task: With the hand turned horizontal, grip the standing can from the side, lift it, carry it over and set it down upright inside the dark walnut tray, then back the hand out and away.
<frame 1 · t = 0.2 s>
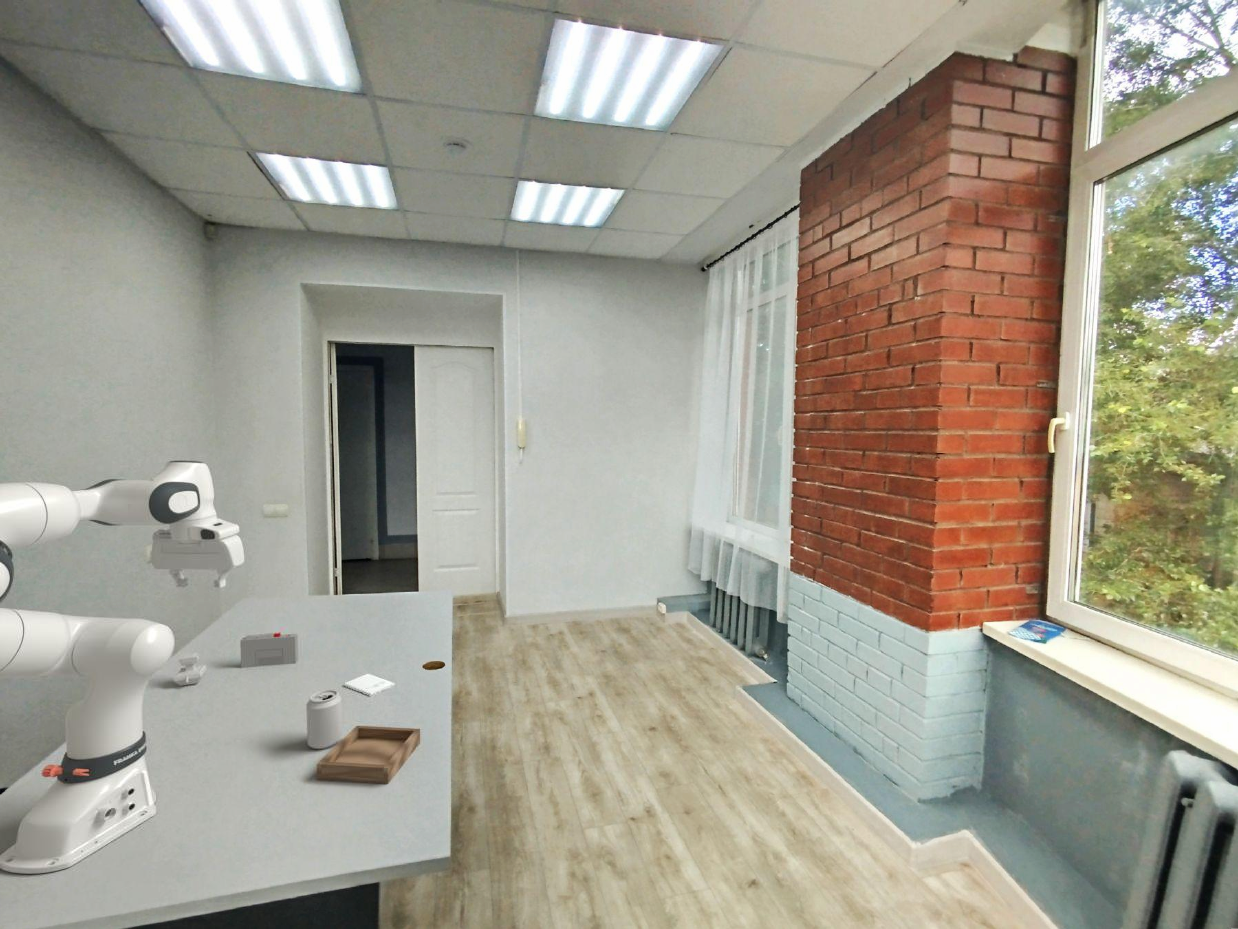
hand: (201, 586, 132), 39 cm above the table, tool pointing down, fingers open, 8 cm apart
can: (325, 743, 137), on the table
external hard drive: (369, 688, 167), on the table
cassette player: (270, 664, 182), on the table
stamp: (190, 683, 168), on the table
tray: (371, 760, 129), on the table
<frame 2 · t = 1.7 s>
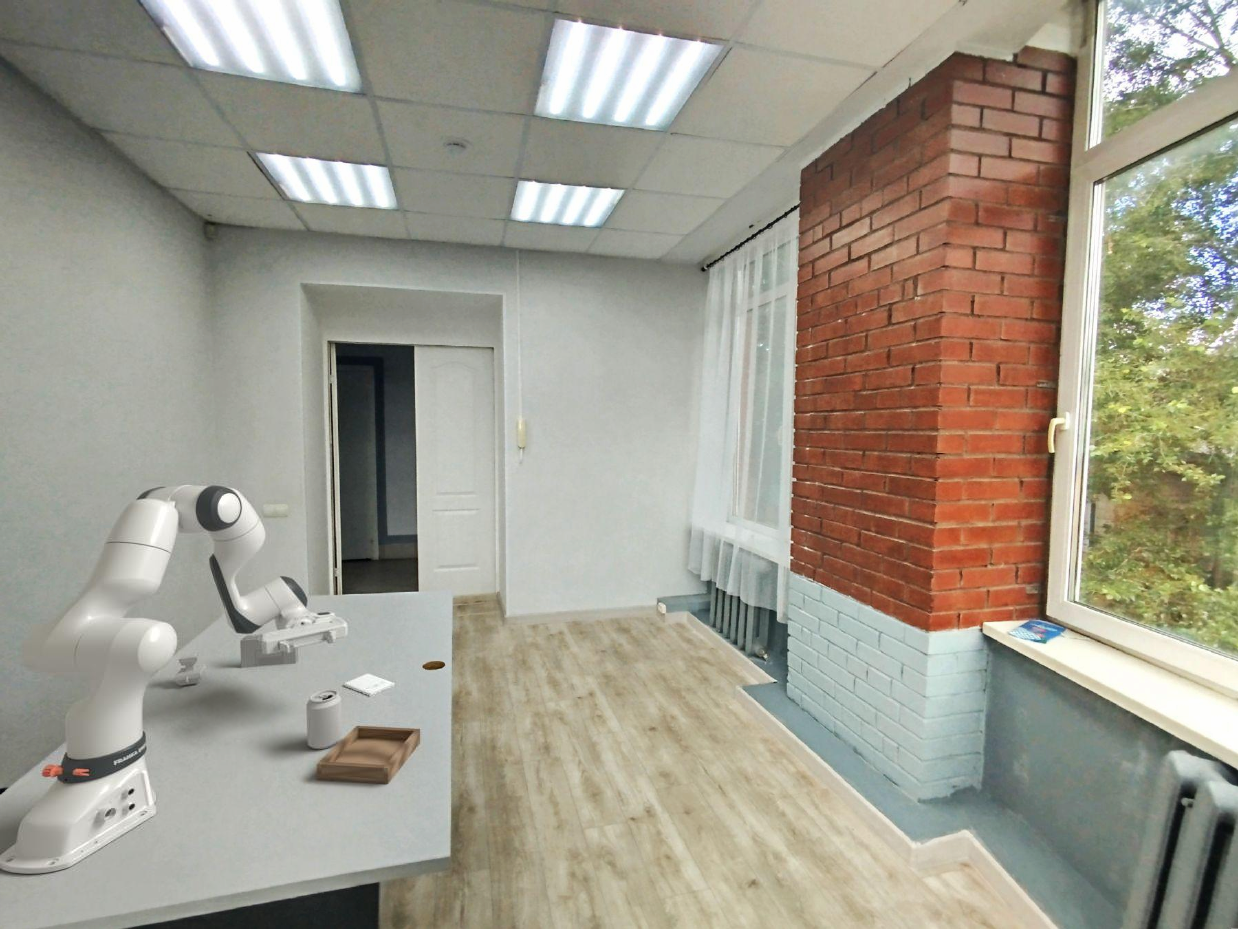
hand: (311, 644, 145), 21 cm above the table, tool horizontal, fingers open, 8 cm apart
nothing on the table moved.
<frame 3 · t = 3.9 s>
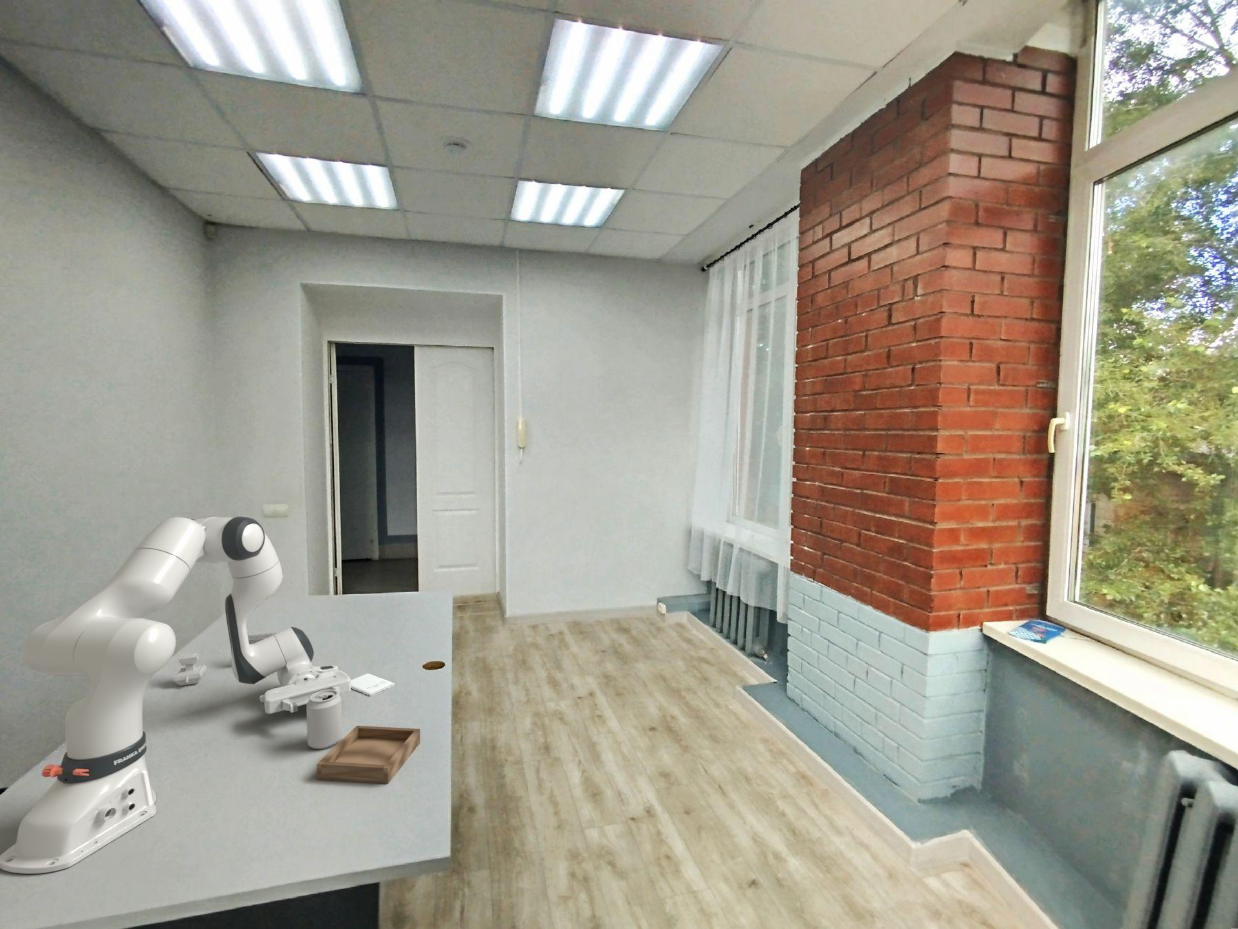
hand: (315, 703, 143), 6 cm above the table, tool horizontal, fingers open, 8 cm apart
nothing on the table moved.
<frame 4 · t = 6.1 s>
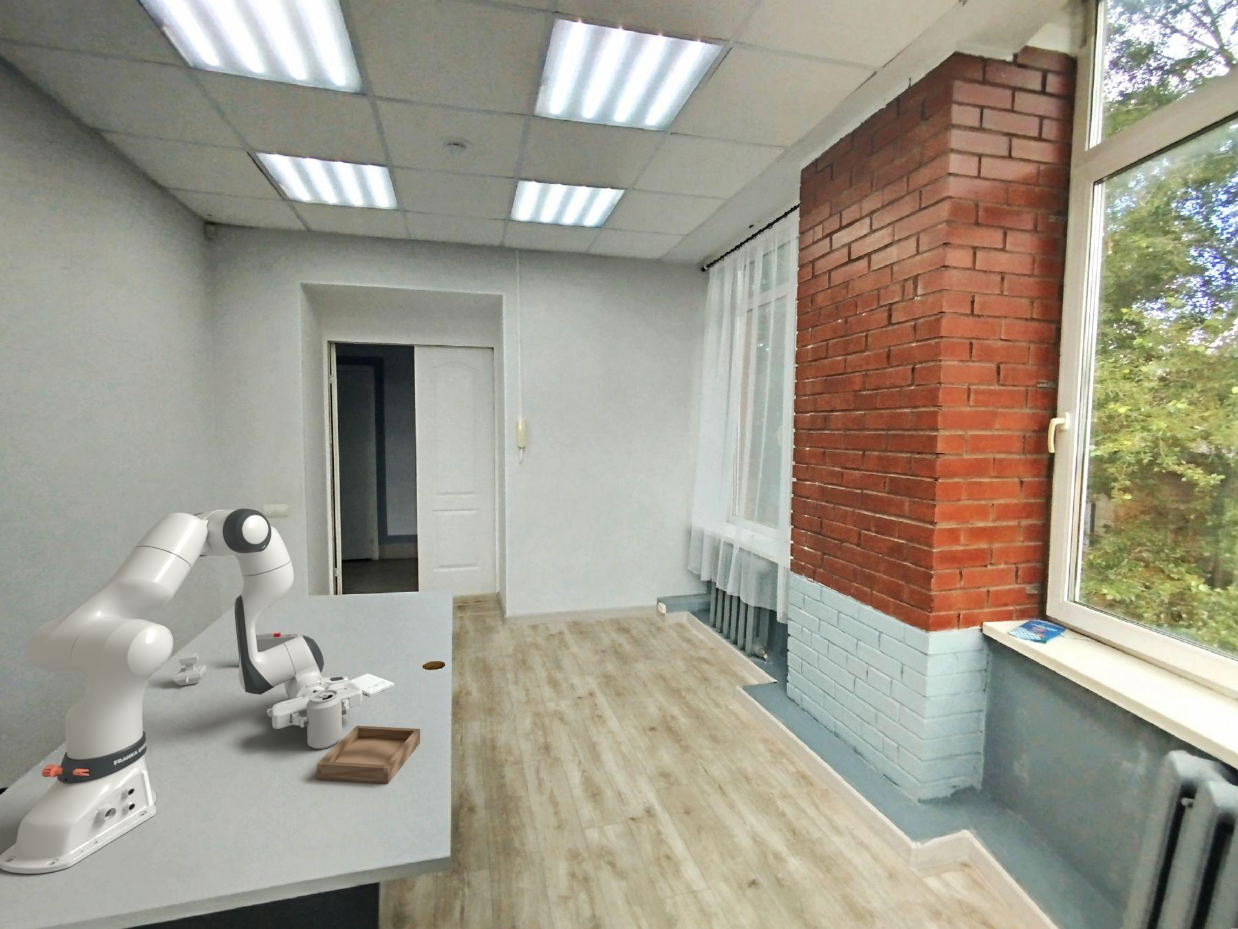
hand: (325, 717, 136), 7 cm above the table, tool horizontal, fingers closed on can, 7 cm apart
can: (325, 743, 137), on the table, touching gripper
everything else where it was.
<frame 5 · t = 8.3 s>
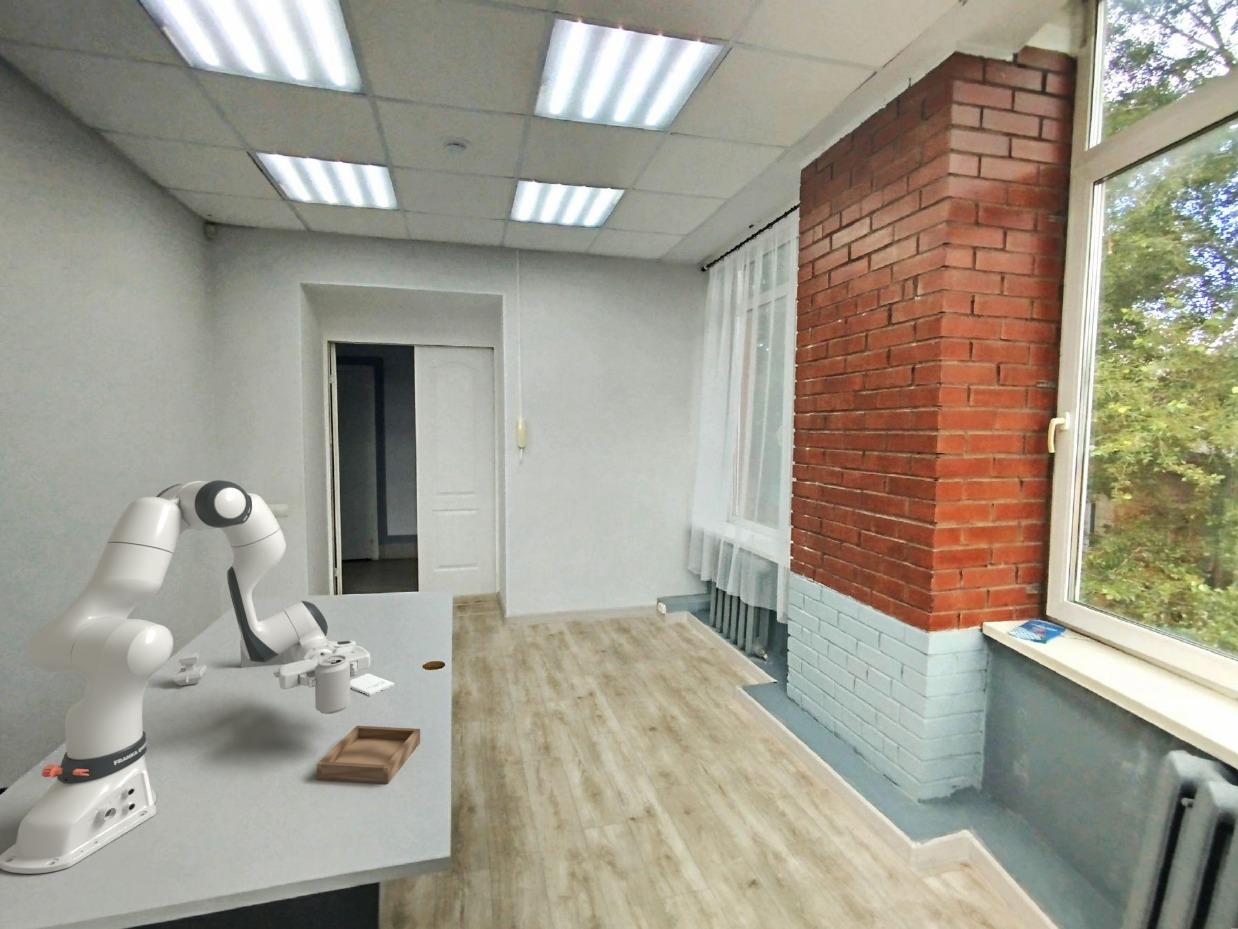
hand: (333, 678, 134), 17 cm above the table, tool horizontal, fingers closed on can, 7 cm apart
can: (333, 708, 135), point 9 cm above the table, touching gripper
everything else where it was.
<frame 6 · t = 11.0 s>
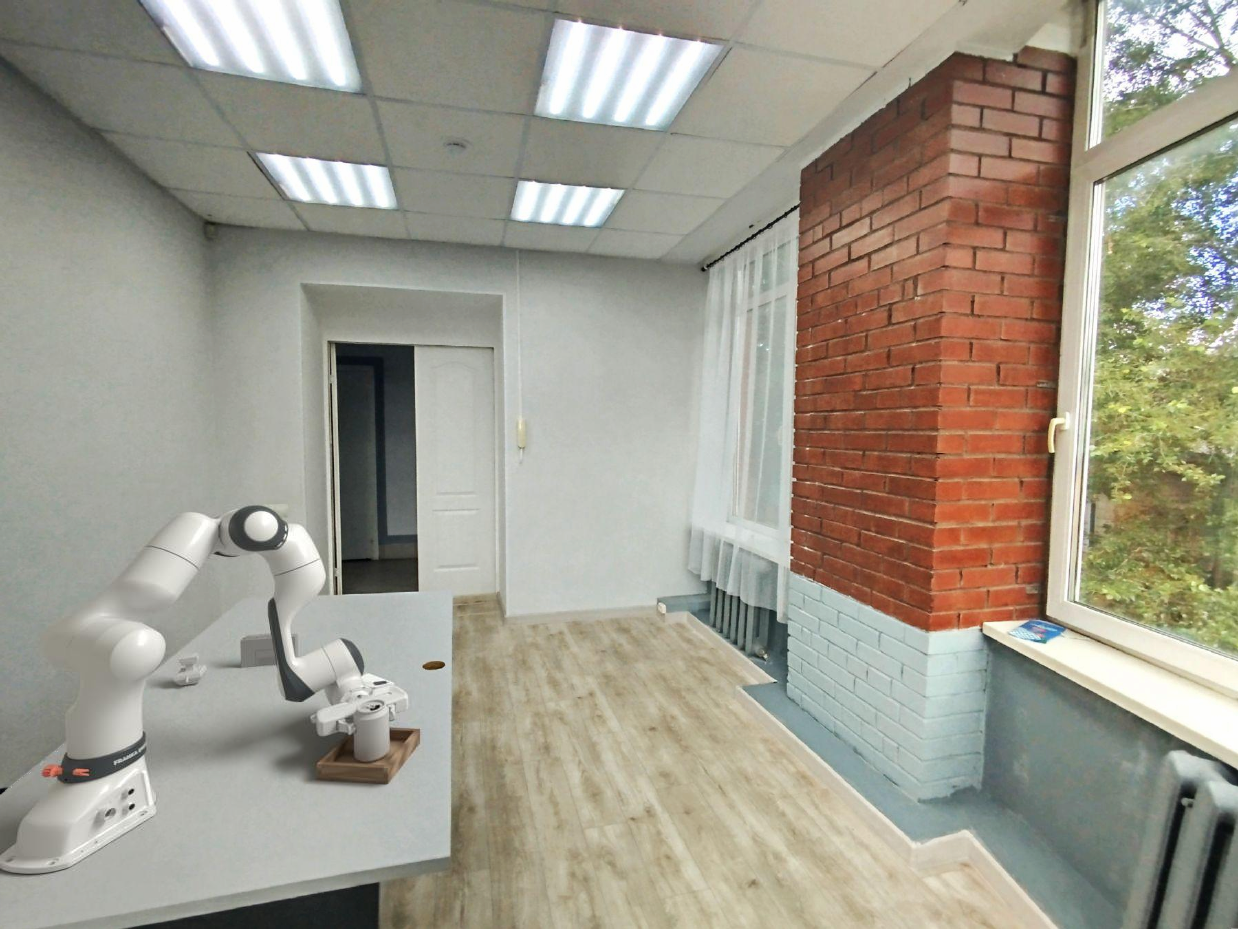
hand: (373, 724, 128), 9 cm above the table, tool horizontal, fingers closed on can, 7 cm apart
can: (372, 756, 130), point 1 cm above the table, touching gripper, tray
everything else where it was.
when the fingers open (9 cm above the table, at t = 11.3 s): can stays where it is, resting on tray.
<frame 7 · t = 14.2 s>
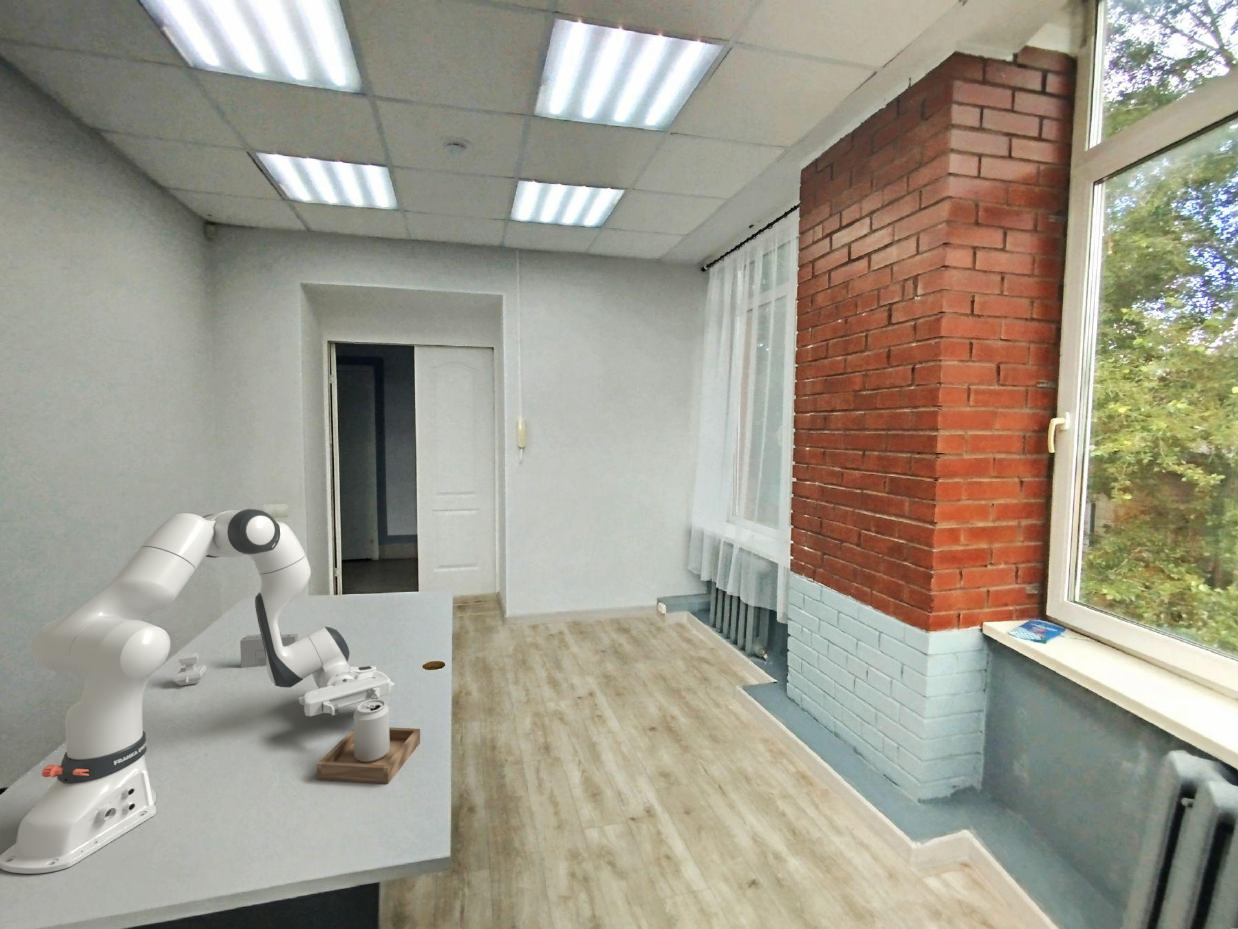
hand: (356, 705, 138), 9 cm above the table, tool horizontal, fingers open, 8 cm apart
can: (372, 756, 130), point 1 cm above the table, touching tray
everything else where it was.
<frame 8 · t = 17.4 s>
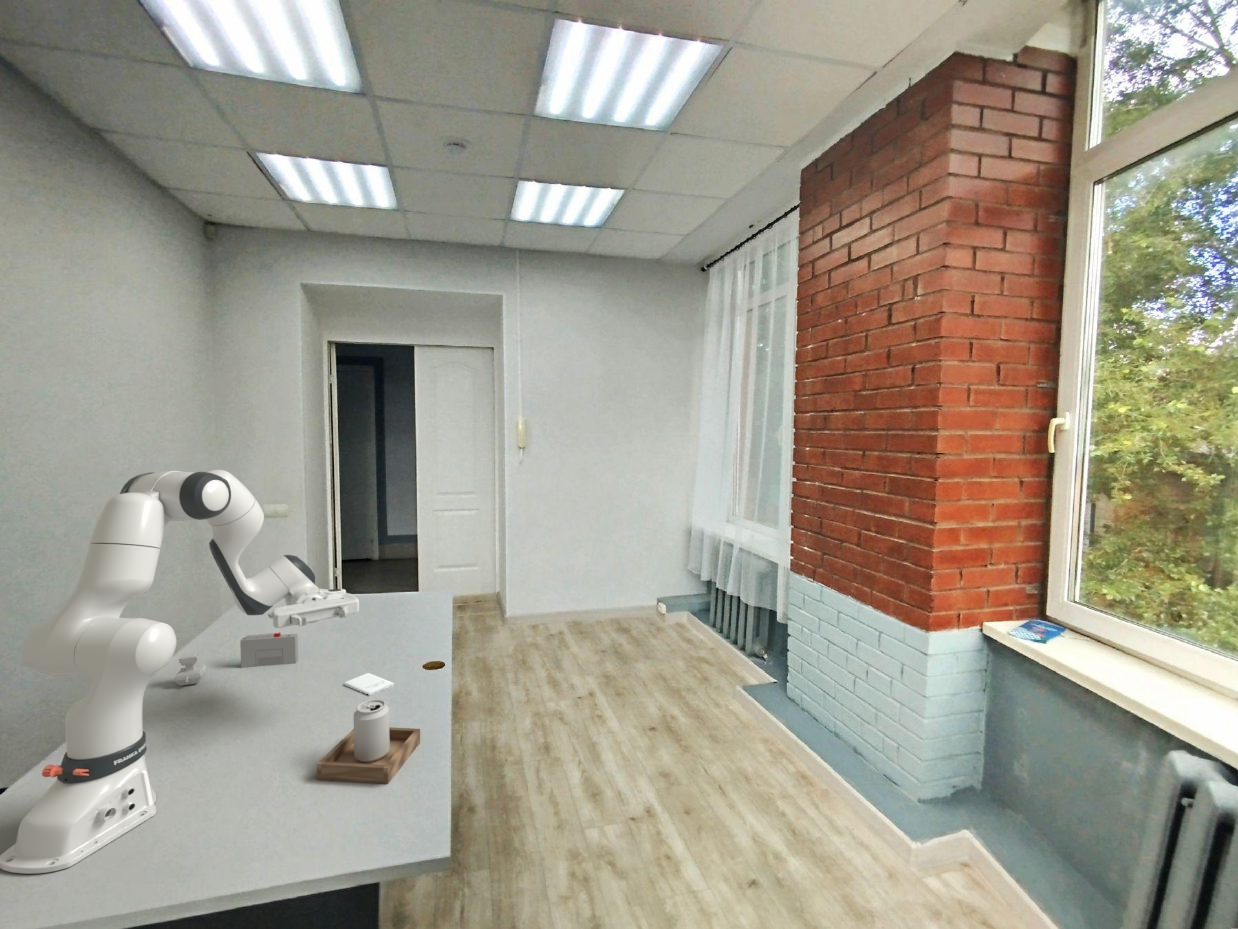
hand: (323, 618, 143), 28 cm above the table, tool horizontal, fingers open, 8 cm apart
nothing on the table moved.
at the end: can inside the target area on the tray (0.3 cm from its centre), point 0.8 cm above the tray's base; can tilted 0°; the gripper is holding nothing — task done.
